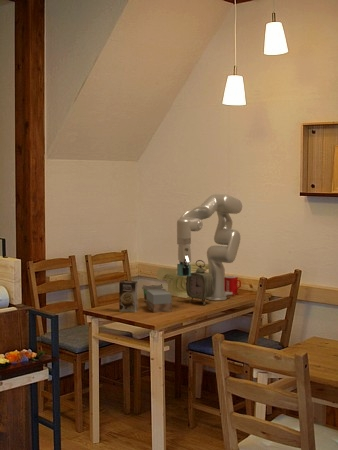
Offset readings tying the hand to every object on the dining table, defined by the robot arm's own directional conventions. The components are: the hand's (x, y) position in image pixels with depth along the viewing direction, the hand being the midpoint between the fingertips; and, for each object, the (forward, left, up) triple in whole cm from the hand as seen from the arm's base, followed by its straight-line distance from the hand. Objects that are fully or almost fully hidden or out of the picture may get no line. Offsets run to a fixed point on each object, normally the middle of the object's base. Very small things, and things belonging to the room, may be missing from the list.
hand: (184, 273), depth 364 cm
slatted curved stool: (-11, -38, -19) cm, 44 cm away
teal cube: (0, 0, -1) cm, 1 cm away
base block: (+14, -1, -20) cm, 24 cm away
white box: (+14, -1, -15) cm, 20 cm away
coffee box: (+31, -1, -19) cm, 37 cm away
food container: (+12, -20, -19) cm, 30 cm away
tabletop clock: (-13, -10, -19) cm, 25 cm away
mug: (-40, -31, -19) cm, 54 cm away
